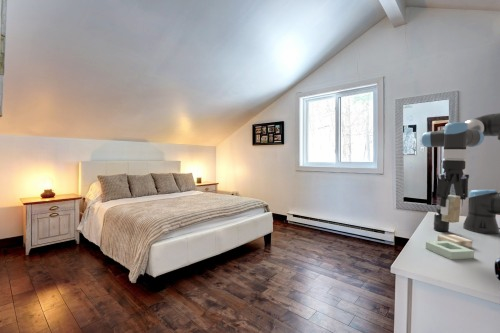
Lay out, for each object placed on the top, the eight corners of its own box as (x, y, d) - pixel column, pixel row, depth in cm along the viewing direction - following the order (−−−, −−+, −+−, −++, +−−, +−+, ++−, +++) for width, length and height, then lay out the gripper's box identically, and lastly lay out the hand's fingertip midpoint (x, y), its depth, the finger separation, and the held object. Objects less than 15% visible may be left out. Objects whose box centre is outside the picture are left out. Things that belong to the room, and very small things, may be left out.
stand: (453, 240, 124) (453, 234, 124) (472, 247, 116) (472, 240, 115) (437, 241, 123) (437, 235, 123) (455, 248, 114) (455, 241, 114)
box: (452, 223, 105) (453, 196, 104) (441, 220, 109) (442, 195, 108) (459, 221, 107) (460, 195, 106) (448, 219, 111) (449, 194, 110)
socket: (446, 247, 115) (446, 240, 115) (474, 258, 103) (474, 250, 103) (425, 248, 113) (425, 241, 113) (451, 259, 101) (451, 252, 101)
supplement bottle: (451, 232, 137) (452, 210, 137) (437, 231, 139) (438, 210, 138) (444, 229, 144) (445, 208, 143) (431, 228, 145) (432, 207, 145)
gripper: (463, 159, 112) (460, 211, 113) (426, 159, 108) (424, 212, 109) (482, 160, 104) (478, 215, 105) (443, 159, 101) (439, 217, 102)
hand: (450, 214), depth 107 cm, fingers closed on box, 6 cm apart
